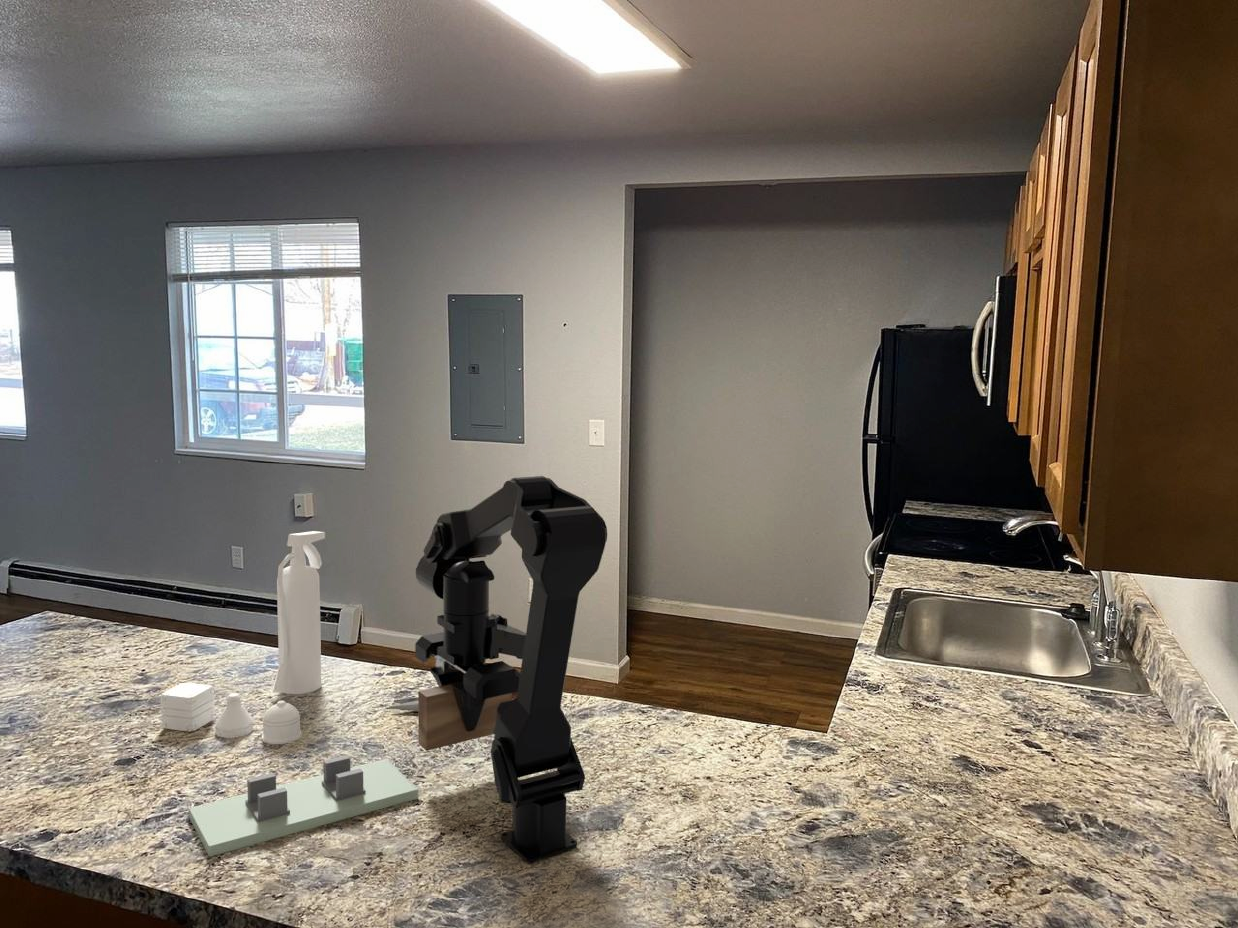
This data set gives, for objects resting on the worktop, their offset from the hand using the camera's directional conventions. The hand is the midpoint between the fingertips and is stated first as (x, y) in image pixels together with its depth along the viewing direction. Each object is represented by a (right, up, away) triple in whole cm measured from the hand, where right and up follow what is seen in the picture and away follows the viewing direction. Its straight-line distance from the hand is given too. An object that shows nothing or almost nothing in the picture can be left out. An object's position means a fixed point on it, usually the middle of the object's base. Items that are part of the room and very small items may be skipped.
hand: (465, 726), depth 123 cm
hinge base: (-17, -7, -9) cm, 21 cm away
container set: (-35, -4, +12) cm, 37 cm away
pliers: (-3, -4, +23) cm, 24 cm away
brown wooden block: (0, -1, 0) cm, 1 cm away
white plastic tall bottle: (-31, -2, +29) cm, 42 cm away
